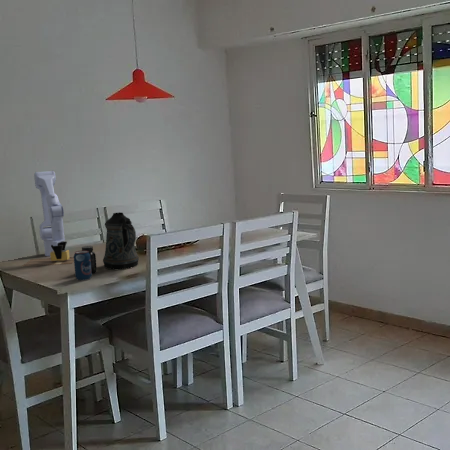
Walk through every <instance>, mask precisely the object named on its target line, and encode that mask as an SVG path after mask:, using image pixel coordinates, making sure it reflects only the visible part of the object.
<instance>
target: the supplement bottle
mask: <svg viewBox="0 0 450 450" xmlns="http://www.w3.org/2000/svg"><path fill="white" fill-rule="evenodd" d="M82 250H87V251H88V252H89V254H90V260H91V271H92V275H93V274H96V273H97V271H98V268H97V258H96V257H97V256H96V255H97V254H96V253H95V252H94V248H93V246H92V245H85V246H82V247H81V251H82Z"/></svg>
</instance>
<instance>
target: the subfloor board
mask: <svg viewBox="0 0 450 450" xmlns="http://www.w3.org/2000/svg"><path fill="white" fill-rule="evenodd" d="M72 264H74V256H71V257H70V258H69V259H68V260H56V261H51V257H50V258H49V257H48V258H47V257H45V258H32V259H29V260H28V261H26V262H25V263H24V264H23V265H21V267H35V266H37V267H38V266H39V267H41V266H56V265H57V266H59V265H72Z"/></svg>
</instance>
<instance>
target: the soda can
mask: <svg viewBox="0 0 450 450" xmlns="http://www.w3.org/2000/svg"><path fill="white" fill-rule="evenodd" d="M73 257H74V262H73V265H74V275H75V276H74V277H75V278H76V280H77V281H88V280H90V279H91V278H92V275H93V274H92V271H91V260H90V254H89V252H88V251H87V250H82V249H81V250H77V251H75V252H74V255H73Z"/></svg>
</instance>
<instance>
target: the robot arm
mask: <svg viewBox="0 0 450 450" xmlns="http://www.w3.org/2000/svg"><path fill="white" fill-rule="evenodd" d="M33 175H34V176H33V179H34V180H33V181H34V186H35V188H36V190H37V189H38V190H39V192H40V199H41V207H42V215H43V220H44V221H43V222H41V223H40V224H39V237H40V239H41V240H42V241H43V247H44V256H46V257H51V256H50V252H52V251H54V253H55V256H56V258H57V259H61V257H62V250H66V246H67V244H68V241H66V238H65V237H66V236H65V229H64V220H63V219H64V216H65V215H64V213H65V212H64V211H65V210H64V206H63V205H62V203H60V200H59V197H58V194H56V193H55V189H54V187H55V184H56V182H57V177H56V172H55V171H54V170H48V171H35V172H34V174H33Z"/></svg>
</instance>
